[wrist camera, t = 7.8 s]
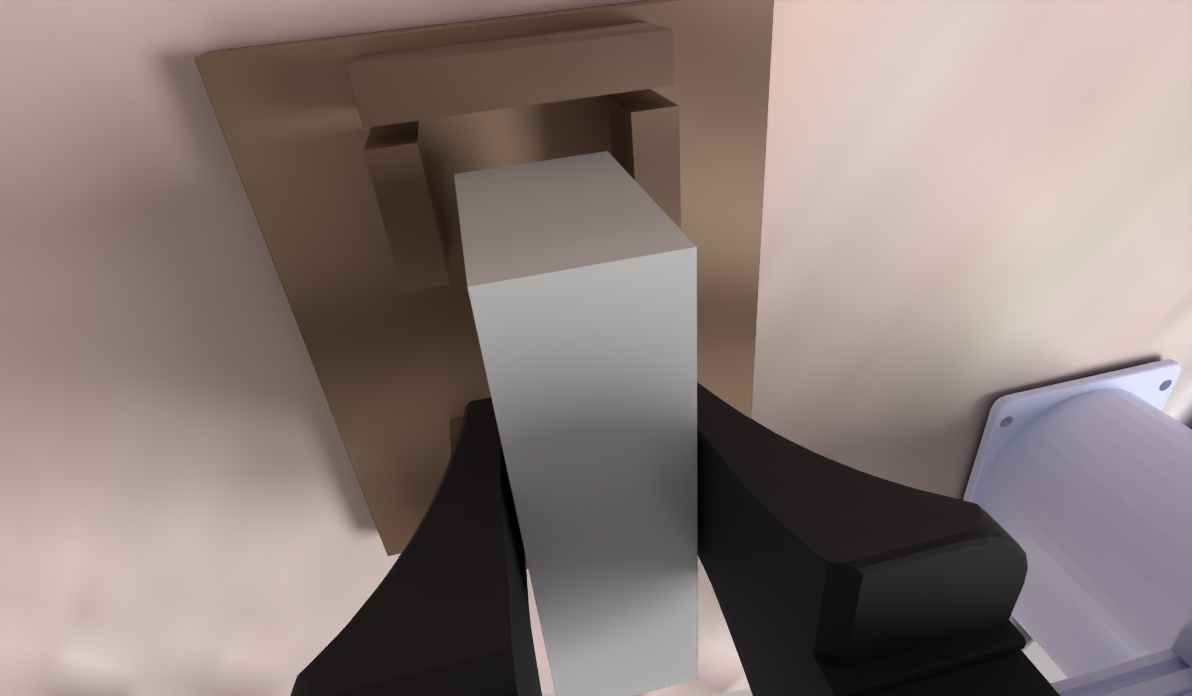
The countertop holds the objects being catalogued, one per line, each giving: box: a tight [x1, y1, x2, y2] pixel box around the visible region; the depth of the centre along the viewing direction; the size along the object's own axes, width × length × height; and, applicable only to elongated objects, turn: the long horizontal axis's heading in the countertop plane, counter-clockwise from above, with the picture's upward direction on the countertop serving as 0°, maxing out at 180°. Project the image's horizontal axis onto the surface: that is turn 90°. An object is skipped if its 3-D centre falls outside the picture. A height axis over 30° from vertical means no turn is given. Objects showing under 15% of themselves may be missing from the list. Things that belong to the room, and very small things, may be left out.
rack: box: [194, 0, 774, 569], centre depth 17 cm, size 14×12×3 cm
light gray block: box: [454, 151, 698, 696], centre depth 13 cm, size 10×3×5 cm, turn 5°
